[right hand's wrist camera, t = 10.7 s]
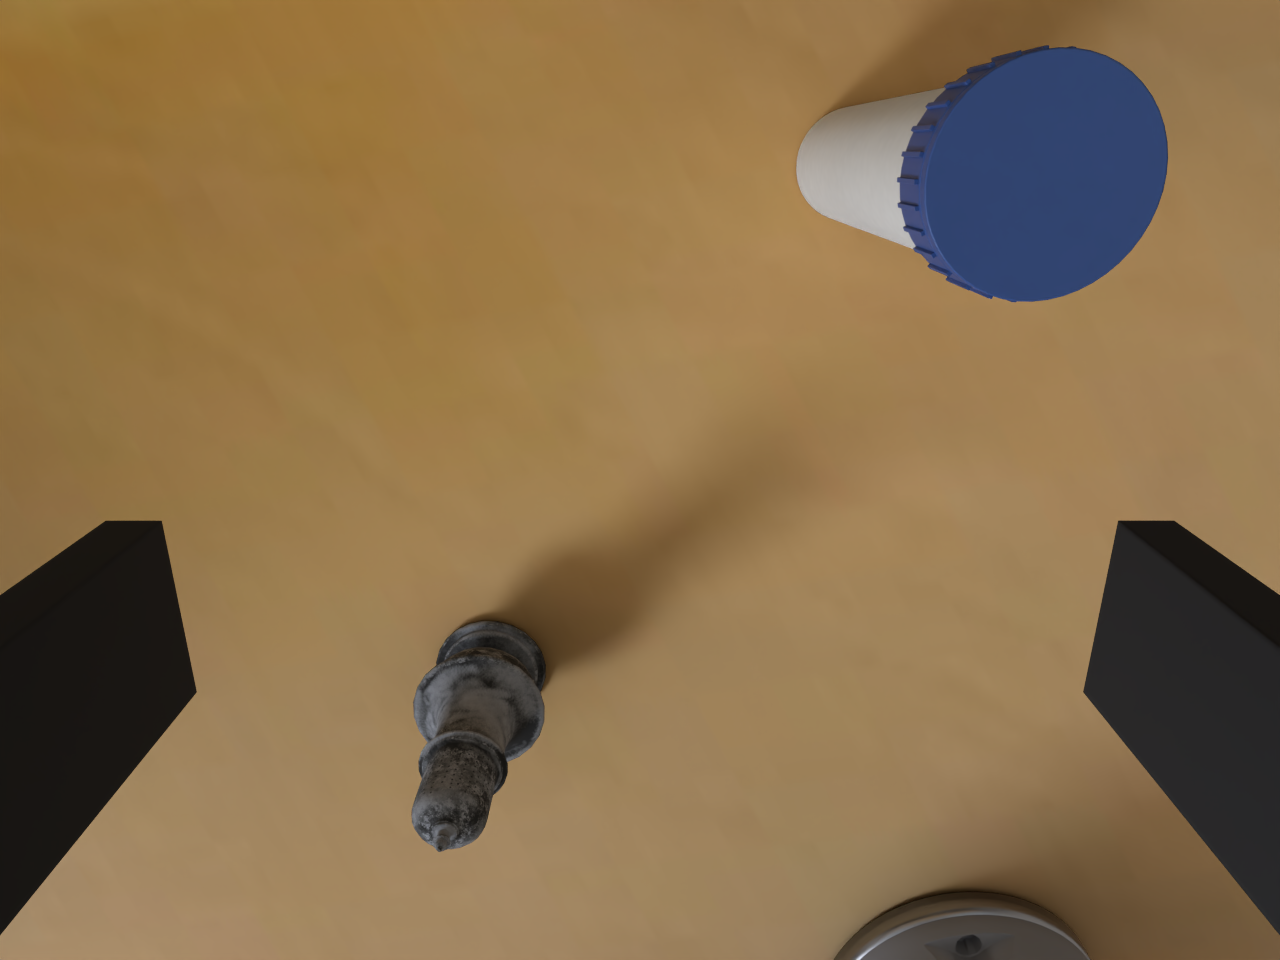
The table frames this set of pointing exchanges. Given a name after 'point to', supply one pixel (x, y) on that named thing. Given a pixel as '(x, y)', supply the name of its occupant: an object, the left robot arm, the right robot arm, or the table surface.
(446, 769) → the grey upright turned piece
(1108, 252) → the lid
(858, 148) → the jar
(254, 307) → the table surface
